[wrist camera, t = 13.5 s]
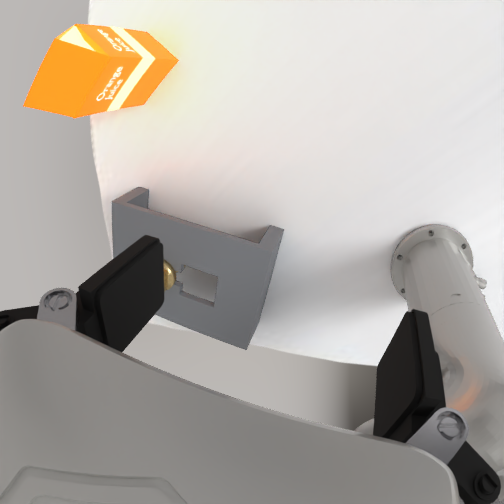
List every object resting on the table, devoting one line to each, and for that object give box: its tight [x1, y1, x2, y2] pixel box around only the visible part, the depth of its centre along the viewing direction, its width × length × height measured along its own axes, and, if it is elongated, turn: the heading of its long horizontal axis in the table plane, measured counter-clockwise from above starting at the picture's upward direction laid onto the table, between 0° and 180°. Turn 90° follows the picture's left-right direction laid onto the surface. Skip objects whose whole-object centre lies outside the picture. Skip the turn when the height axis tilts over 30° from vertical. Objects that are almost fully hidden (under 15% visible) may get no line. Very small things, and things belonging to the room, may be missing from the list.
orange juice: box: [23, 24, 179, 118], centre depth 31 cm, size 8×9×20 cm
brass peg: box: [164, 260, 186, 292], centre depth 46 cm, size 5×5×12 cm
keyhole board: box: [112, 187, 284, 350], centre depth 49 cm, size 24×18×7 cm
